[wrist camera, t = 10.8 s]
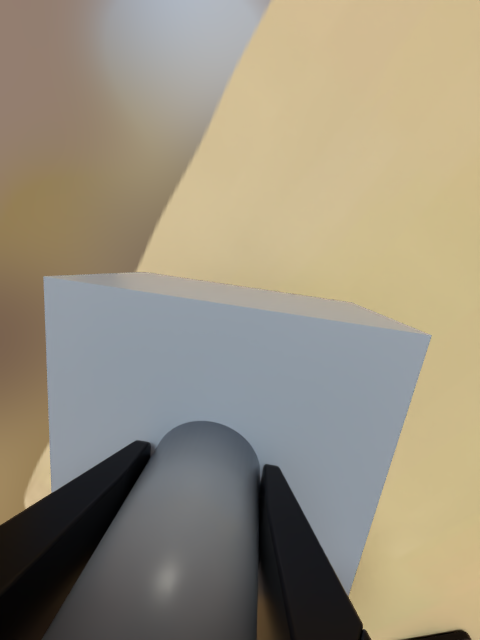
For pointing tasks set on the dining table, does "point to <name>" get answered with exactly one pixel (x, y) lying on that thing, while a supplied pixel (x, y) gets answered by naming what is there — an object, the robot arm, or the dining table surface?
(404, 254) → the dining table surface
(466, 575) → the dining table surface
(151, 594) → the block with rounded knob
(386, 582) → the dining table surface
